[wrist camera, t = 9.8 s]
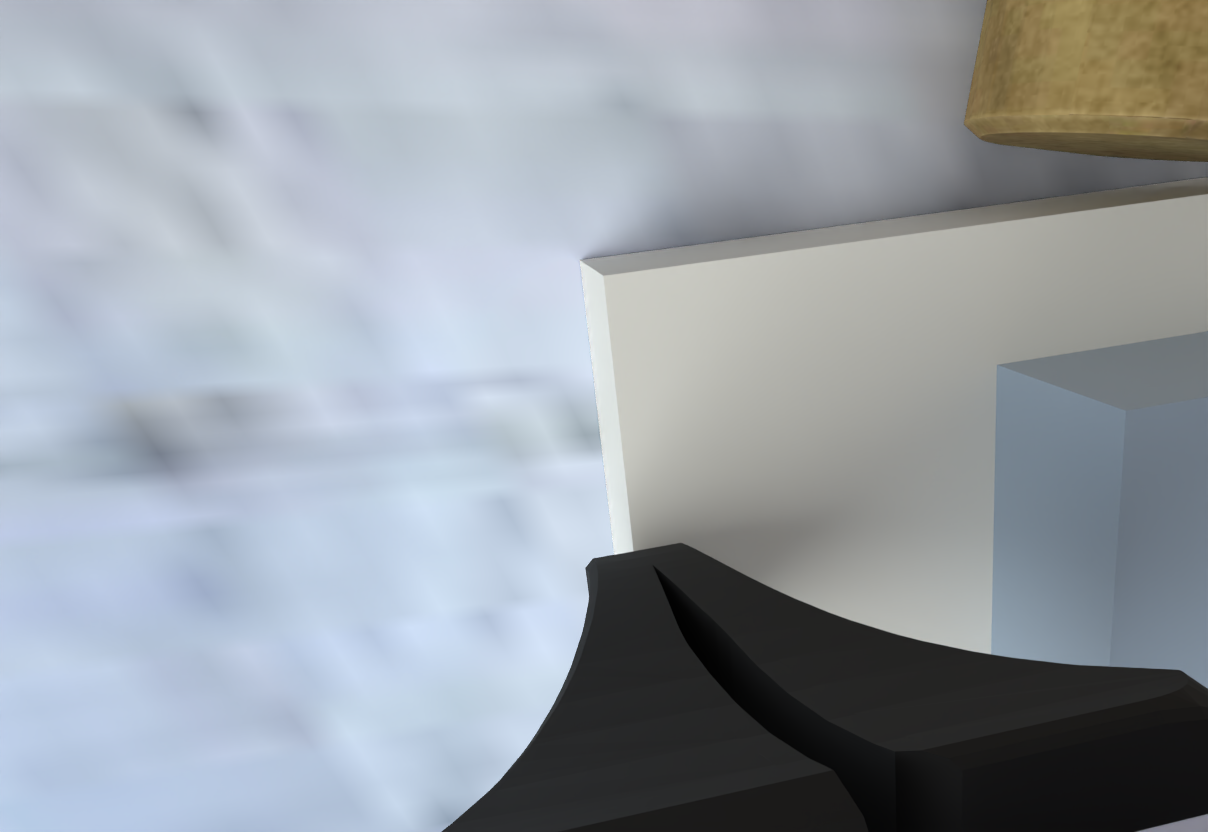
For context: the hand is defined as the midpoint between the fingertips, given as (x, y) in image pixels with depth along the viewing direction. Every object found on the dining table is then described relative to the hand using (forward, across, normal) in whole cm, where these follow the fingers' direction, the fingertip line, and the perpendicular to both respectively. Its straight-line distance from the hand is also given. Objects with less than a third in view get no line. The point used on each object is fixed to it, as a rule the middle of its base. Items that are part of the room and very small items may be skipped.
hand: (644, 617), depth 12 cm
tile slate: (+1, -8, 0) cm, 8 cm away
